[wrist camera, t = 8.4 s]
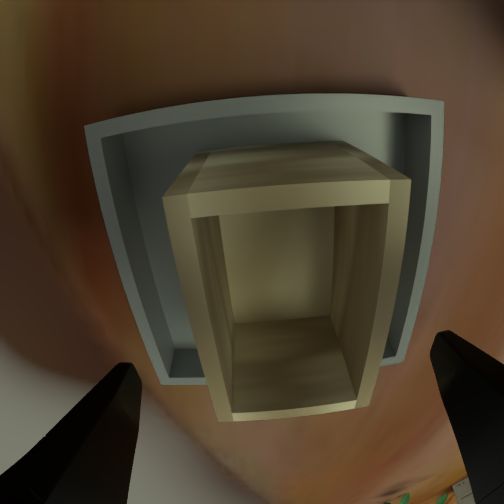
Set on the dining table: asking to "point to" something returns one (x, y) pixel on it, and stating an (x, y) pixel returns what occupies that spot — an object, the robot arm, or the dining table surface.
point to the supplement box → (463, 492)
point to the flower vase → (405, 499)
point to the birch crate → (288, 273)
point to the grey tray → (237, 135)
